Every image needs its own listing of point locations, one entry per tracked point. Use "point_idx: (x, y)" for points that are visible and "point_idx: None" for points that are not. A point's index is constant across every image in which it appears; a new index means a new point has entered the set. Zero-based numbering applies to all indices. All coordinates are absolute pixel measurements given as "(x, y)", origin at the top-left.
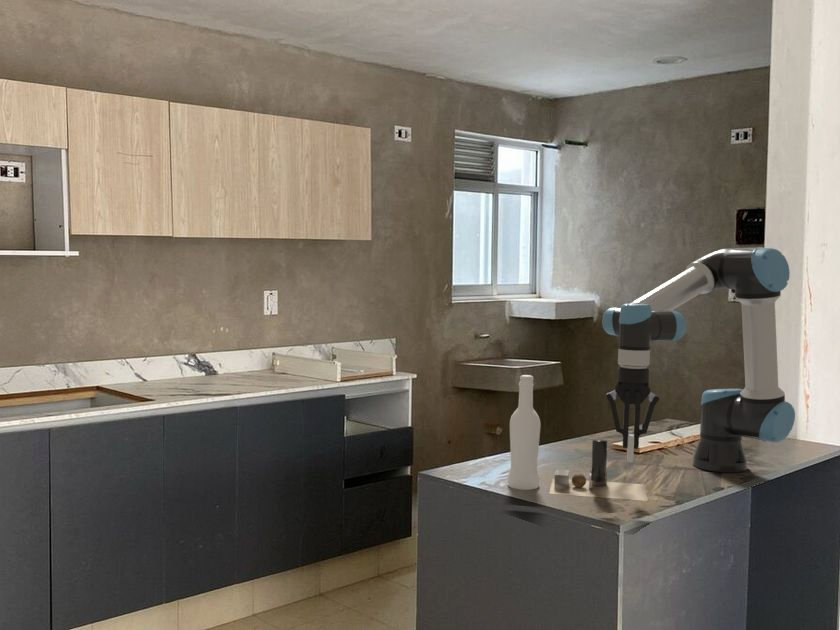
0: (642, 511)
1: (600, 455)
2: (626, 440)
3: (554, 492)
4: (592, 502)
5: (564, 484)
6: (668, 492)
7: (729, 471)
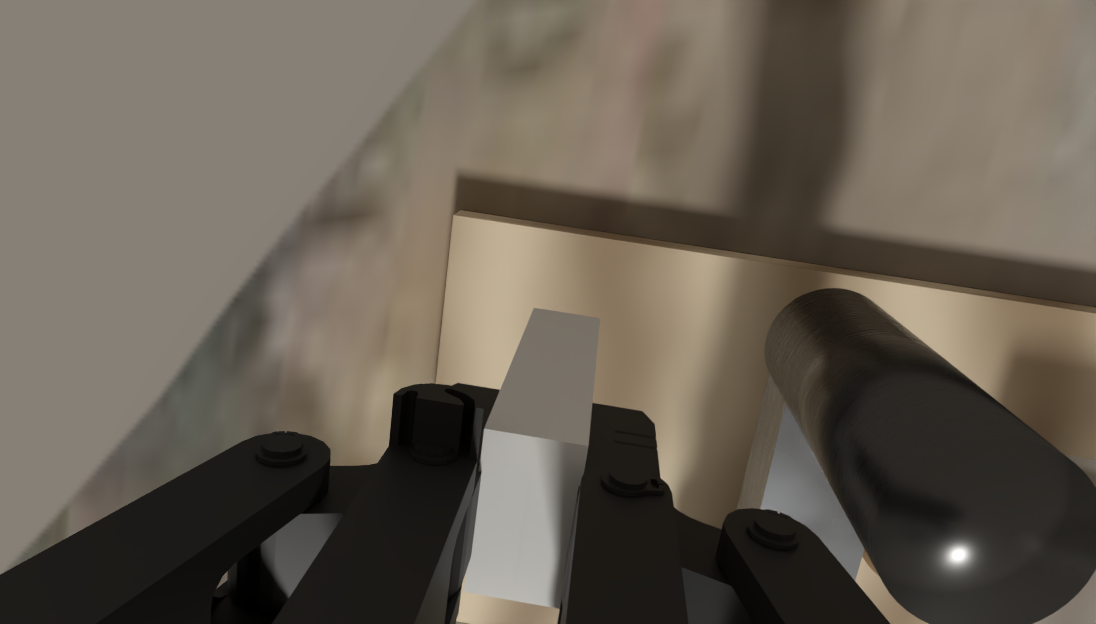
0: (520, 60)
1: (924, 366)
2: (605, 448)
3: None
4: (842, 247)
5: None
6: None
7: None
